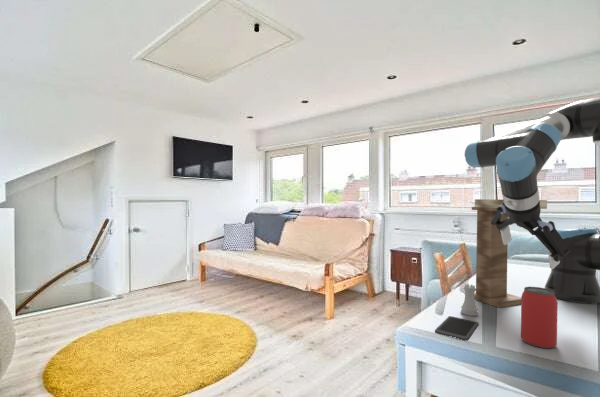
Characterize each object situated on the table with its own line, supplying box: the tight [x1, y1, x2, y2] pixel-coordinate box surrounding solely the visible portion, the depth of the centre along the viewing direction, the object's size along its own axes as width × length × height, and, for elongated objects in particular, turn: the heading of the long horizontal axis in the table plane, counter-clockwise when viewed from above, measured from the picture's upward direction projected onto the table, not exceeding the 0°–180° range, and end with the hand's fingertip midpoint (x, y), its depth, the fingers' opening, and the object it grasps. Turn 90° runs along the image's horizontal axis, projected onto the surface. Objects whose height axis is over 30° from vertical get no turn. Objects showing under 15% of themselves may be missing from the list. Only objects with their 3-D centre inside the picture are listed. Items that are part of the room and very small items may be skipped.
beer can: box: [520, 286, 559, 349], centre depth 73 cm, size 7×7×12 cm
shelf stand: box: [471, 206, 522, 309], centre depth 104 cm, size 10×12×30 cm
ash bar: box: [474, 198, 548, 210], centre depth 102 cm, size 20×4×2 cm, turn 24°
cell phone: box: [434, 315, 480, 341], centre depth 81 cm, size 7×14×1 cm, turn 141°
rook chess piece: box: [460, 283, 479, 317], centre depth 92 cm, size 4×4×8 cm
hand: (529, 253), depth 94 cm, fingers open, 13 cm apart
